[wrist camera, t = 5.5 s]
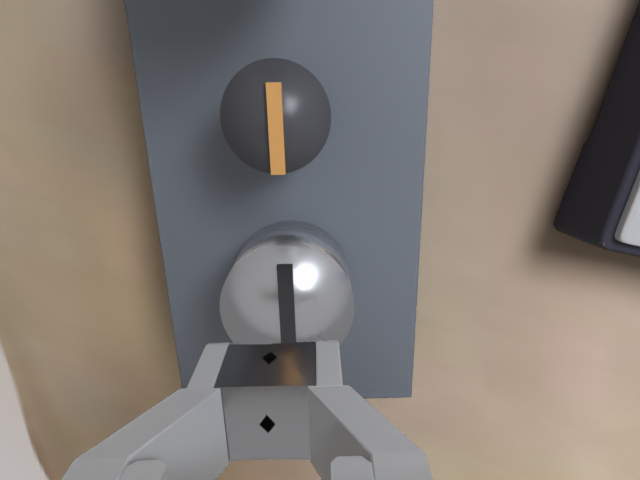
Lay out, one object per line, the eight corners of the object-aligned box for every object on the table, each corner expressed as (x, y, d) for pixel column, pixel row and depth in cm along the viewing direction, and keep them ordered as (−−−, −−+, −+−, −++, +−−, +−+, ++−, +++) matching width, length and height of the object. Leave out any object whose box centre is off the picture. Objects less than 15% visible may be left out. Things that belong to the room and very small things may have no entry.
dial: (238, 70, 14) (212, 58, 10) (327, 68, 14) (330, 56, 10) (245, 159, 15) (223, 176, 11) (328, 157, 15) (332, 173, 11)
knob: (247, 199, 19) (211, 249, 13) (341, 197, 19) (355, 245, 13) (254, 285, 21) (224, 371, 14) (341, 283, 21) (354, 368, 14)
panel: (134, -239, 15) (70, -362, 11) (418, -245, 15) (454, -369, 11) (207, 351, 22) (184, 402, 18) (394, 346, 22) (411, 397, 18)
